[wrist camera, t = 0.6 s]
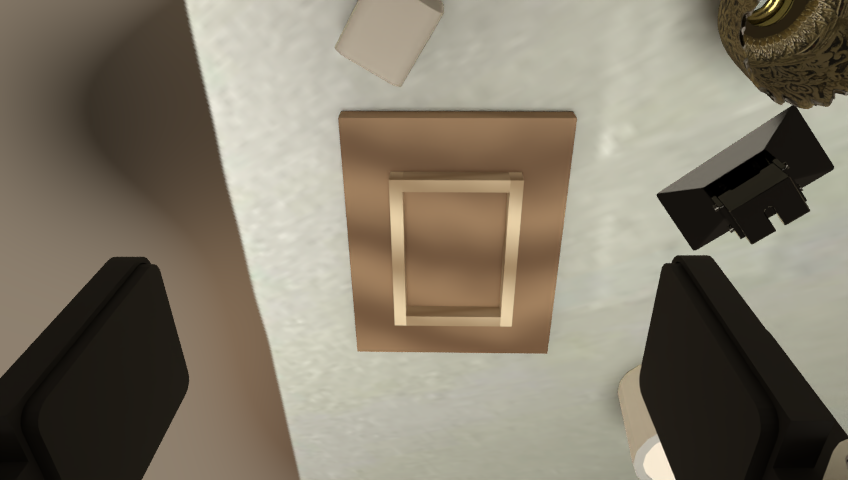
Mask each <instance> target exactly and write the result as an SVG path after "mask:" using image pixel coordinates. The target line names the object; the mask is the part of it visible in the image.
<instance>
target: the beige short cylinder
mask: <svg viewBox="0 0 848 480" xmlns="http://www.w3.org/2000/svg"><path fill="white" fill-rule="evenodd" d="M641 365H642V364H641ZM641 365H639V366H637V367H635V368H634V369H632V370H631V371H629V372H627V374H626V375H625V376H624V377H623V379H622V380H621V381H620V384H619V388H618V397H619V401H620V406H621V411H622V415H623V420H624V424H625V429H626V434H627V438H628V443H629V448H630V452H631V457H632V462H633V466H634V469H635V472H636V475H637V477H638V478H639V479H641V480H675V477H674V475H673V472H672V470H671V467H670V465H669V462H668V460H667V457H666V455H665V452H664V450H663V447H662V445H661V442H660V440H659V437H658V435H657V432H656V430H655V427H654V425H653V422H652V420H651V418H650V415H649V413H648V410H647V408H646V405H645V403H644V400H643V398H642V395H641V392H640V386H639V376H640V370H641Z"/></svg>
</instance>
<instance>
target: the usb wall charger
mask: <svg viewBox="0 0 848 480" xmlns="http://www.w3.org/2000/svg"><path fill="white" fill-rule="evenodd" d="M443 14H444V4H443V3H442V2H441V1H440V0H358V2H357V4H356V6H355V8H354V10H353V12H352V14H351V16H350V18H349V20H348V22H347V24H346V26H345V28H344V30H343V32H342V34H341V36H340V38H339V40H338V42H337V44H336V46H335V49H336V50H337V51H338V52H339V53H340V54H341V55H343V56H344V57H346V58H348V59H349V60H351V61H353V62H354V63H356V64H358V65H359V66H361V67H363V68H365V69H366V70H368V71H370V72H371V73H373V74H375V75H376V76H378V77H380V78H381V79H383V80H385V81H387V82H388V83H390V84H392V85H394V86H398V87H401V86H402V84H403V82H404V81H405V79H406V77H407V75H408V74H409V72H410V70H411V69H412V67H413V65H414V63H415V62H416V60H417V58H418V57H419V55H420V53H421V51H422V50H423V48H424V46H425V45H426V43H427V41H428V39H429V38H430V36H431V34H432V33H433V31H434V29H435V27H436V26H437V24H438V22H439V21H440V19H441V17H442V15H443Z"/></svg>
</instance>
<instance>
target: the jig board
mask: <svg viewBox="0 0 848 480" xmlns="http://www.w3.org/2000/svg"><path fill="white" fill-rule="evenodd" d="M338 120H339V132H340V144H341V156H342V168H343V180H344V193H345V205H346V217H347V229H348V241H349V253H350V265H351V277H352V289H353V301H354V313H355V325H356V337H357V349H358V351H370V352H458V353H545V354H547V351H548V343H549V335H550V327H551V319H552V311H553V303H554V295H555V287H556V280H557V272H558V264H559V256H560V248H561V240H562V232H563V224H564V216H565V209H566V201H567V193H568V185H569V177H570V169H571V161H572V153H573V145H574V137H575V130H576V122H577V118H576V116H575V114H574V112H501V111H341V113H340V115H339V118H338Z"/></svg>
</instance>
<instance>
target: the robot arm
mask: <svg viewBox="0 0 848 480" xmlns="http://www.w3.org/2000/svg"><path fill="white" fill-rule="evenodd" d="M188 384H189V374H188V370H187V366H186V362H185V359H184V355H183V352H182V348H181V344H180V341H179V337H178V334H177V330H176V327H175V323H174V319H173V315H172V312H171V308H170V305H169V301H168V297H167V294H166V290H165V287H164V283H163V279H162V276H161V272H160V269H159V268H158V266H157V265H154V264H151V263H150V261H149V260H148V259H147V258H145V257H113V258H111V259H109V260H108V261H107V262H106V263H105V264H104V266H103V267H102V268H101V269H100V270H99V271H98V272H97V273H96V274H95V275H94V276H93V278H92V279H91V280H90V281H89V282H88V283H87V284H86V285H85V286H84V287H83V288H82V290H81V291H80V292H79V293H78V294H77V295H76V296H75V297H74V298H73V299H72V301H71V302H70V303H69V304H68V305H67V306H66V307H65V308H64V309H63V310H62V312H61V313H60V314H59V315H58V316H57V317H56V318H55V319H54V320H53V321H52V322H51V323H50V325H49V326H48V327H47V328H46V329H45V330H44V331H43V332H42V333H41V334H40V336H39V337H38V338H37V339H36V340H35V341H34V342H33V343H32V344H31V345H30V346H29V347H28V349H27V350H26V351H25V352H24V353H23V354H22V355H21V356H20V357H19V358H18V359H17V361H16V362H15V363H14V364H13V365H12V366H11V367H10V368H9V369H8V370H7V372H6V373H5V374H4V375H3V376H2V377H1V378H0V480H142V478H143V476H144V474H145V472H146V470H147V468H148V466H149V465H150V463H151V461H152V459H153V457H154V455H155V453H156V451H157V449H158V447H159V445H160V443H161V441H162V439H163V437H164V435H165V433H166V431H167V429H168V428H169V425H170V424H171V422H172V419H173V418H174V416H175V414H176V412H177V410H178V408H179V406H180V404H181V402H182V400H183V398H184V396H185V394H186V392H187V389H188ZM639 386H640V392H641V395H642V398H643V400H644V403H645V405H646V408H647V410H648V413H649V415H650V418H651V420H652V422H653V425H654V427H655V430H656V432H657V435H658V437H659V440H660V442H661V445H662V447H663V450H664V452H665V455H666V457H667V460H668V462H669V465H670V467H671V470H672V472H673V475H674V477H675V480H848V435H847V434H846V433H845V431H844V430H843V429H842V427H841V426H840V425H839V423H838V422H837V421H836V419H835V418H834V417H833V415H832V414H831V413H830V411H829V410H828V409H827V407H826V406H825V405H824V403H823V402H822V401H821V400H820V398H819V397H818V396H817V394H816V393H815V392H814V390H813V389H812V388H811V386H810V385H809V384H808V382H807V381H806V380H805V378H804V377H803V376H802V374H801V373H800V372H799V370H798V369H797V368H796V366H795V365H794V364H793V362H792V361H791V360H790V358H789V357H788V356H787V355H786V353H785V352H784V351H783V349H782V348H781V347H780V345H779V344H778V343H777V341H776V340H775V339H774V337H773V336H772V335H771V334H770V333H769V332H768V331H767V330H766V329H765V327H764V326H763V325H762V323H761V322H760V321H759V319H758V318H757V317H756V315H755V314H754V313H753V311H752V310H751V309H750V307H749V306H748V305H747V303H746V302H745V301H744V299H743V298H742V297H741V295H740V294H739V293H738V291H737V290H736V289H735V287H734V286H733V285H732V283H731V282H730V281H729V279H728V278H727V277H726V275H725V274H724V273H723V271H722V270H721V269H720V267H719V266H718V265H717V263H716V262H715V261H714V259H713V258H712V257H711V256H707V255H677V256H676V257H674V259H673V260H672V263H666V264H664V265H663V267H662V270H661V274H660V279H659V284H658V289H657V293H656V298H655V303H654V308H653V313H652V317H651V322H650V327H649V332H648V336H647V341H646V346H645V351H644V356H643V360H642V365H641V370H640V376H639Z"/></svg>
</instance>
